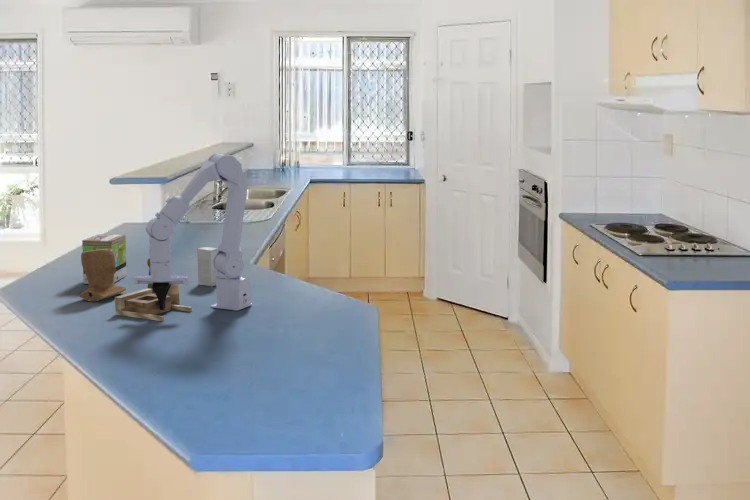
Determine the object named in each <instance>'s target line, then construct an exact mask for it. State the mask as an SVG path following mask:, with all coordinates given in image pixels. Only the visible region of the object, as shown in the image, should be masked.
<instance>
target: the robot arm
mask: <svg viewBox="0 0 750 500" xmlns="http://www.w3.org/2000/svg"><path fill="white" fill-rule="evenodd" d="M242 165H243V164H242V163H241V162H240V161H239V160H238V158H236V157H235V156H233V155H231V154H222V153H218V152H217V153H213V154H212V155H210V156H209V158H208V160H205V161H204V162H203V163H202V165H201V167H200V168H199V169H198V171H197V172H196V173H195V175H194V176H193V177H192V179H191V180H190V181H189V182H188V184H187V186H186V187H185V188H184V189H183V190H182V191H181V193H180V194H179V195H173V196H172V197H171V198H167V199H166V200H165V202H166V203H165V205H164V206H163V207H162V208H161V210H160V211H159V212H156V213H155V217H154V218H152V219H150V220H149V221H148V222H147V226H146V227H145V231H146V234H147V235H148V236H149V245H148V248H149V258H150V275H151V276H149V275H137V276H134V278H133V282H134V283H133V284H134V285H139V284H140V285H142V284H143V285H144V284H145V285H148V284H153V286H152V289H153V291H154V292H155V294H156V296H157V298H158V301H159V307H160V310H164V309H165V300H166V296H167V293H168V291H169V289H170V286H171V284H179V285H183V286H185V285H188V284H189V276H185V275H184V276H183V275H173V274H172V270H173V269H172V251H171V249H172V248H171V247H172V246H171V245H172V244H171V237H172V236H173V233H174V228H175V227H176V226H177V225H178V224H179V222H180V221H181V220H182V219H183V217H184V216H185V215H186V214H187V213H188V211H190V203H191V202H192V200H193V199H194V198H195V197H196V196H197V195H198V194H199V193H200V192H201V191H202V190H203V189H204V187H206V186H207V185H208V183H210V182H214V181H218V180H221V182H222V183H224V185H225V186H226V187H227V195H226V196H227V198H226V205H225V213H224V220H223V228H222V235H221V242H220V243H219V245H218V247H217V248H218V251H217V254H216V255H215V257H214V259H213V265H214V268H215V269H216V270H217V274H216V285H215V288H216V291H215V292H216V303H214V304H211V305H210V308H214V309H221V310H222V309H223V310H231V311H240V310H242V309H246V308H249V307H251V306H253V303H252V298H251V297H252V296H251V295H252V293H251V290H252V289H251V282H250V280H249V279H248V278H246V277H243V276H242V273H243V272H244V269H245V263H244V259H243V250H242V247H241V237H242V230H243V222H244V215H245V209H246V207H245V206H246V200H247V199H246V198H247V192H248V180H247V178H246V176H245V173H244V171H243V167H242ZM167 281H168V282H167Z"/></svg>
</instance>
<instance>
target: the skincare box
mask: <svg viewBox="0 0 750 500" xmlns="http://www.w3.org/2000/svg"><path fill="white" fill-rule="evenodd" d="M196 251H197V252H196V255H197V256H196V257H197V276H198V277H197V278H198V281H197V282H198V285H199V286H205V287H214V286H215V287H216V274H217V270H216V269H215V268H214V265H213V259H214V257H215V255H216V254H217V251H218V247H217V248H215V247H207V246H206V247H205V246H204V247H200V248H199V247H198V248H197V249H196Z"/></svg>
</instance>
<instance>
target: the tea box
mask: <svg viewBox="0 0 750 500" xmlns="http://www.w3.org/2000/svg"><path fill="white" fill-rule="evenodd" d="M81 244H82V252H85V251H91V250H99V249H112V250H113V252H114V255H115V262H116V268H115V273H114V284H115V283H117V282H118V281H119V280H121V279H123V278H126V276H127V272H128V271H127V240H126V234H111V233H108V234H96V235H92V236H90V237H88V238H86V239H83V240H82V243H81ZM82 270H83V271H82V274H83V275H82V277H83V285H89V283H88V280H87V277H86V274H85V271H84V269H83V268H82Z"/></svg>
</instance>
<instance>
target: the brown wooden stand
mask: <svg viewBox="0 0 750 500" xmlns="http://www.w3.org/2000/svg"><path fill="white" fill-rule="evenodd" d="M80 261H81V266H82V270H83V269H84V271H85V274H86V277H87V280H88V283H89V284H88V288H87V289H86V290H85V291H81V293H79V295H78V296H79V297H80V298H82V299H83V300H85V301H88V302H92V303H93V302H98V301H99V302H100V301H102V300H105V299H108V298H110V297H115V296H116V295H118V294H121V293H123V292H125V291H126V290H127V288H126V287H124V286H119V285H116V284H115V283H114V273H115V268H116V262H115V255H114V252H113V250H112V249H99V250H91V251H85V252H83V251H82V252H81V255H80Z"/></svg>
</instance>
